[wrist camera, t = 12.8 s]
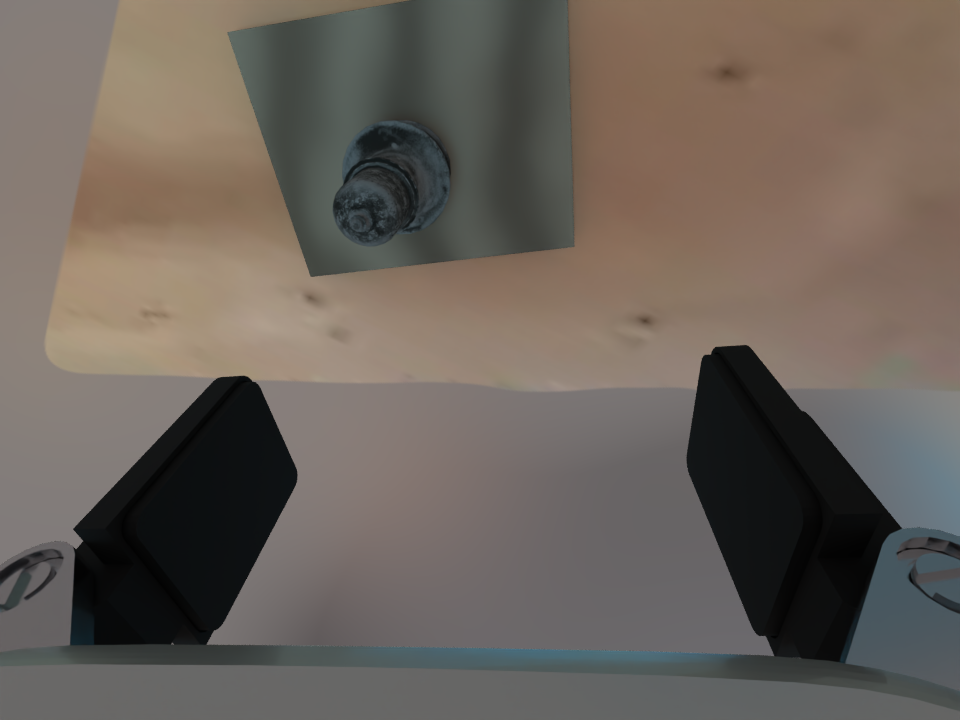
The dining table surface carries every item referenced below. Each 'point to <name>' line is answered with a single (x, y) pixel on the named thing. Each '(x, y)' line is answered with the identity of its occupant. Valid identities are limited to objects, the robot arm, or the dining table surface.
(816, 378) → the dining table surface
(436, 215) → the dark grey chess piece
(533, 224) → the serving board
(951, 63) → the dining table surface
